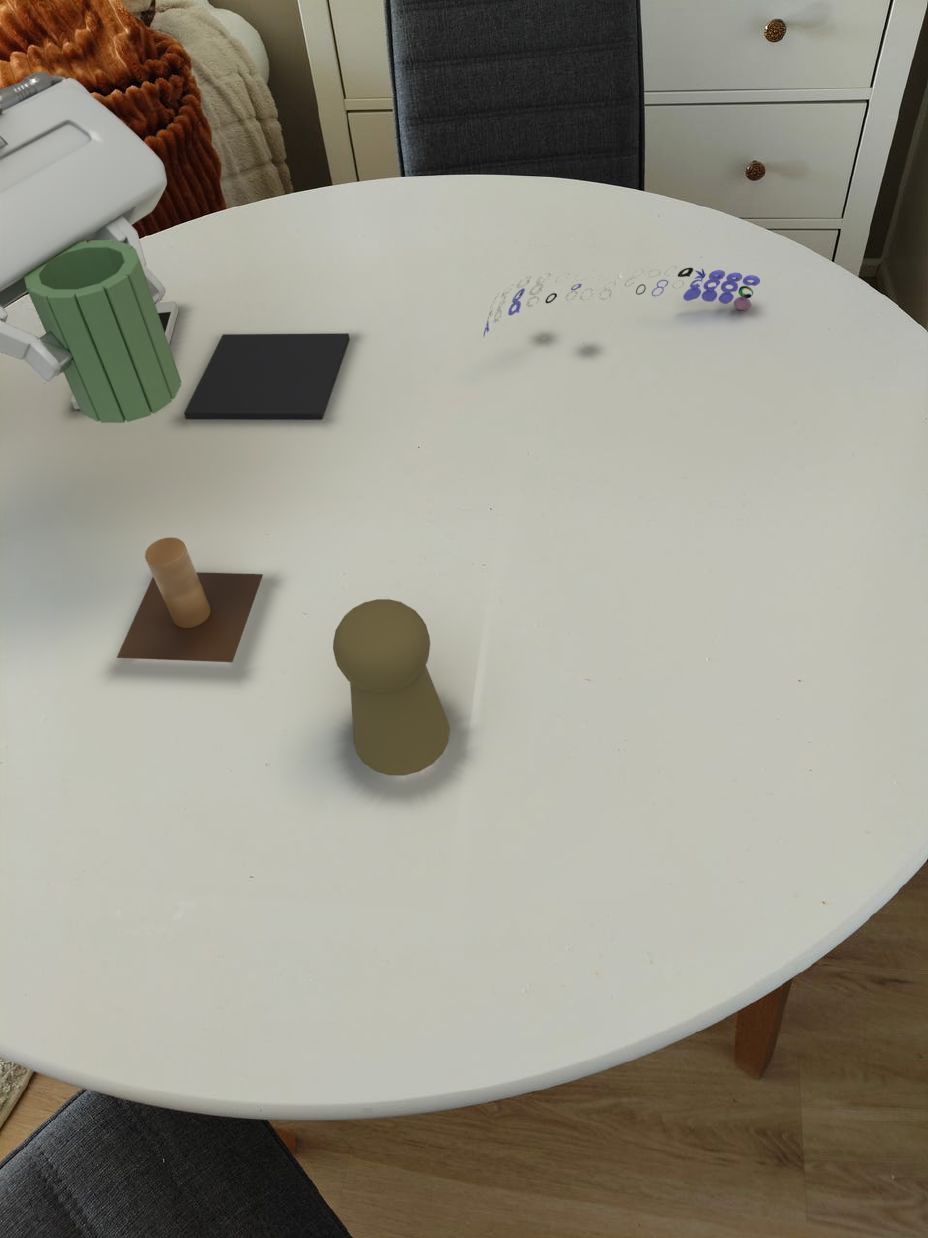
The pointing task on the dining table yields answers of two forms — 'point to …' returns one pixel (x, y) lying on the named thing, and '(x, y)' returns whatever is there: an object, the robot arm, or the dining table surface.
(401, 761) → the olive brown pawn
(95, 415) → the green tube
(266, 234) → the dining table surface
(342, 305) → the dining table surface
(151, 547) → the peg stand
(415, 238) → the dining table surface
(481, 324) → the dining table surface
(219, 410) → the mat
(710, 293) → the ring set
